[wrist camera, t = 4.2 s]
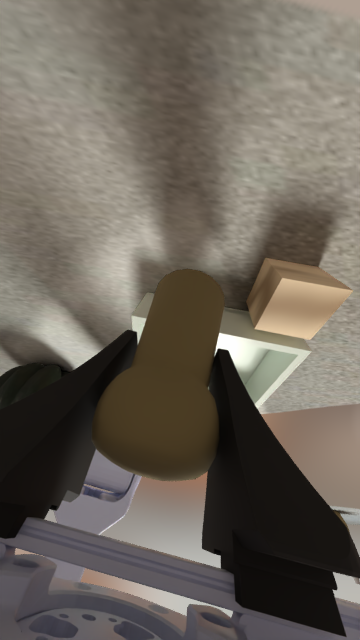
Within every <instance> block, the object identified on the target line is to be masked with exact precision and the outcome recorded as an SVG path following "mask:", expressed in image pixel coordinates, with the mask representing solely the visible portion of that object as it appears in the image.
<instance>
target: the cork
mask: <svg viewBox="0 0 360 640" xmlns="http://www.w3.org/2000/svg"><path fill="white" fill-rule="evenodd" d="M224 306H225V301H224V294H223V291H222V289H221V287H220V285H219V284H218V283H217V282H216V281H215V280H214V279H213V278H212V277H211V276H209V275H207V274H205V273H203V272H201V271H197V270H192V269H183V270H176V271H174V272H172V273H170V274H168V275H166V276H165V277H164V278H163V279H162V280H161V281H160V282H159V284H158V286H157V289H156V291H155V294H154V298H153V301H152V304H151V307H150V310H149V313H148V316H147V319H146V322H145V325H144V328H143V331H142V334H141V337H140V340H139V343H138V346H137V349H136V352H135V355H134V358H133V361H132V365H131V368H129V369H127V370H125V371H123V372H122V373H120V374H119V375H117V376H116V377H115V379H114V380H113V381H112V382H111V383H110V384H109V385H108V386H107V387H106V389H105V391H104V392H103V394H102V396H101V398H100V399H99V401H98V404H97V407H96V410H95V414H94V417H93V421H92V442H93V444H94V446H95V447H96V449H97V451H98V452H99V453H101V454H102V455H103V456H104V457H106V458H107V459H108V460H110V461H111V462H112V463H114V464H115V465H117V466H119V467H120V468H122V469H124V470H126V471H128V472H131V473H133V474H136V475H139V476H143V477H146V478H151V479H155V480H160V481H183V480H193V479H196V478H198V477H200V476H201V475H203V474H204V473H206V472H207V471H208V470H209V468H210V466H211V464H212V462H213V460H214V459H215V457H216V453H217V449H218V444H219V440H220V436H219V417H218V412H217V407H216V403H215V399H214V397H213V396H212V394H211V393H210V391H209V389H208V387H209V382H210V377H211V372H212V367H213V362H214V357H215V352H216V346H217V341H218V336H219V331H220V326H221V321H222V316H223V311H224Z"/></svg>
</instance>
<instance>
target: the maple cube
mask: <svg viewBox="0 0 360 640" xmlns="http://www.w3.org/2000/svg"><path fill="white" fill-rule="evenodd" d="M352 292H353V290H352V289H350V288H349V287H347V286H346V285H344V284H343V283H341V282H340V281H338V280H337V279H335V278H334V277H333V276H331V275H330V274H328V273H327V272H325V271H324V270H322V269H321V268H319V267H316V266H310V265H304V264H298V263H293V262H287V261H281V260H275V259H270V258H265V260H264V262H263V264H262V267H261V269H260V271H259V274H258V276H257V278H256V280H255V283H254V285H253V287H252V289H251V292H250V294H249V296H248V299H247V301H246V303H247V306H248V309H249V313H250V316H251V319H252V322H253V326H254V329H258V330H263V331H268V332H273V333H278V334H283V335H288V336H293V337H298V338H303V339H308V340H310V339H311V338H312V337H313V336H314V335H315V334H316V333H317V332H318V330H319V329H320V328H321V327H322V326H323V325H324V324H325V322H326V321H327V320H328V319H329V318H330V317H331V316H332V315H333V313H334V312H335V311H336V310H337V309H338V308H339V307H340V305H341V304H342V303H343V302H344V301H345V300H346V299H347V298H348V296H349V295H350V294H351V293H352Z"/></svg>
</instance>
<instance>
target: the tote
mask: <svg viewBox="0 0 360 640" xmlns="http://www.w3.org/2000/svg"><path fill="white" fill-rule="evenodd" d="M153 298H154V293H149V292H147V294H146V295H145V296H144V298H143V299H142V301H141V302H140V304H139V305H138V307H137V308H136V310H135V311H134V312H133V314H132V315H131V317H132V329H133V331H136V332H137V339H138V343H139V340H140V337H141V334H142V331H143V328H144V325H145V322H146V319H147V316H148V313H149V310H150V307H151V304H152V301H153ZM218 348H220V349H225V350H228V351H229V353H230V355H231V358H232V360H233V362H234V365H235V367H236V369H237V371H238V373H239V376H240V378H241V380H242V382H243V384H244V386H245V388H246V390H247V391H248V393H249V395H250V397H251V399H252V401H253V402H254V404H255V406H256V408H257V409H258V408H259V407H260V406H261V405H262V404H263V403H264V402H265V400H266V399H267V398H268V397H269V396H270V395H271V394H272V393H273V392H274V391H275V390H276V389H277V388H278V387H279V386H280V385H281V384H282V382H283V381H284V380H285V379H286V378H287V377H288V376H289V375H290V374H291V373H292V372H293V371H294V370H295V369H296V368H297V367H298V366H299V364H300V363H301V362H302V361H303V360H304V359H305V358H306V357H307V356H308V355H309V354H310V353H311V352H312V351H311V349H310V348H309V346H308V345H307V343H306V341H305V340H304V339H303V338H298V337H293V336H288V335H283V334H278V333H273V332H268V331H263V330H258V329H254V326H253V322H252V319H251V316H250V313H249V311H243V310H238V309H233V308H228V307H224V311H223V316H222V321H221V326H220V331H219V336H218V341H217V346H216V352H217V349H218ZM216 352H215V354H216ZM208 389H209V387H208Z"/></svg>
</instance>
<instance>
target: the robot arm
mask: <svg viewBox="0 0 360 640" xmlns="http://www.w3.org/2000/svg"><path fill="white" fill-rule="evenodd" d="M137 346H138V339H137V332H136V331H131V330H127V331H125V332H124V333H123V334H122V335H120V336H119V337H118V338H117V339H116V340H114V341H113V342H112V343H111V344H109V345H108V346H107V347H106V348H104V349H103V350H102V351H100V352H99V353H98V354H96V355H95V356H94V357H92V358H91V359H89V360H88V361H87V362H85V363H84V364H82V365H81V366H79V367H78V368H76V369H75V370H73V371H72V372H70V373H68V374H67V375H65V376H64V377H62V378H60V379H58V380H57V381H55V382H53V383H51V384H50V385H48V386H46V387H44V388H43V389H41V390H39V391H37V392H35V393H33V394H31V395H29V396H27V397H25V398H23V399H21V400H19V401H17V402H15V403H13V404H11V405H9V406H7V407H5V408H3V409H0V640H360V604H358V603H354V602H350V601H347V600H343V599H339V598H335V597H334V593H333V590H337V584H336V581H335V578H334V575H333V572H336V573H340V574H345V575H348V576H352V577H356V578H360V557H359V555H358V552H357V549H356V547H355V544H354V543H353V540H352V538H351V536H350V533H349V531H348V529H347V527H346V525H345V524H344V523H343V522H342V521H341V519H340V518H339V517H338V516H337V515H336V514H335V512H334V511H333V510H332V509H331V508H330V506H329V505H328V504H327V503H326V502H325V501H324V499H323V498H322V497H321V496H320V495H319V493H318V492H317V491H316V490H315V489H314V487H313V486H312V485H311V484H310V482H309V481H308V480H307V478H306V477H305V476H304V475H303V474H302V472H301V471H300V470H299V468H298V467H297V466H296V464H295V463H294V462H293V460H292V459H291V458H290V456H289V455H288V454H287V452H286V451H285V449H284V448H283V447H282V445H281V444H280V443H279V441H278V440H277V439H276V437H275V436H274V434H273V433H272V431H271V430H270V428H269V427H268V425H267V424H266V422H265V421H264V419H263V417H262V416H261V414H260V413H259V411H258V409H257V408H256V406H255V404H254V402H253V401H252V399H251V397H250V395H249V393H248V391H247V390H246V388H245V386H244V384H243V382H242V380H241V378H240V376H239V373H238V371H237V369H236V367H235V365H234V362H233V360H232V358H231V355H230V353H229V351H228V350H225V349H220V348H218V349H217V352H216V354H215V357H214V362H213V367H212V372H211V377H210V382H209V391H210V393H211V394H212V396H213V397H214V399H215V403H216V407H217V412H218V417H219V436H220V440H219V444H218V449H217V453H216V457H215V459H214V460H213V462H212V464H211V466H210V468H209V470H208V475H207V488H206V501H205V511H204V522H203V532H202V549H204V550H207V551H209V552H211V553H213V554H217V555H220V556H221V569H220V568H216V567H213V566H210V565H206V564H202V563H199V562H195V561H192V560H188V559H184V558H180V557H177V556H173V555H170V554H166V553H163V552H159V551H155V550H152V549H148V548H145V547H141V546H137V545H134V544H130V543H127V542H123V541H119V540H116V539H112V538H108V537H105V536H101V535H100V534H101V533H102V532H103V531H105V530H106V529H108V528H109V527H111V526H112V525H113V524H115V523H116V522H118V521H119V520H120V519H122V518H123V517H124V516H125V515H126V513H127V510H128V509H129V508H130V505H131V501H132V498H133V496H134V493H135V490H136V488H137V486H138V484H139V482H140V479H141V476H139V475H136V474H133V473H131V472H128V471H126V470H124V469H122V468H120V467H119V466H117V465H115V464H114V463H112V462H111V461H110V460H108V459H107V458H106V457H104V456H103V455H102V454H101V453H99V452H98V451H97V449H96V447H95V446H94V444H93V442H92V421H93V417H94V414H95V410H96V407H97V404H98V401H99V399H100V398H101V396H102V394H103V392H104V391H105V389H106V387H107V386H108V385H109V384H110V383H111V382H112V381H113V380H114V379H115V377H116V376H117V375H119V374H120V373H122V372H123V371H125V370H127V369H129V368H131V365H132V361H133V358H134V355H135V352H136V349H137ZM83 484H87V485H91V486H94V487H98V488H101V489H105V490H108V491H112V492H114V493H108V492H105V491H101V490H98V489H94V488H91V487H87V486H84V485H83ZM49 509H52V510H53V511H54V514H55V518H56V521H57V523H54V522H51V521H47V520H44V518H45V516H46V515H47V513H48V511H49ZM16 548H19V549H22V550H25V551H29V552H32V553H36V554H39V555H35V554H23V555H22V554H21V555H15V549H16ZM40 555H43V556H45V557H43V556H40ZM85 568H87V569H91V570H94V571H98V572H101V573H104V574H108V575H112V576H115V577H118V578H122V579H125V580H129V581H132V582H136V583H139V584H142V585H146V586H149V587H153V588H156V589H160V590H163V591H167V592H170V593H173V594H177V595H180V596H184V597H187V598H191V599H194V600H197V601H201V602H205V603H208V604H211V605H215V606H218V607H222V608H225V609H228V610H232V611H233V615H232V617H231V618H230V617H229V616H228V615H226V614H225V613H224V612H222V611H221V610H219V609H217V608H214V607H211V606H205V605H194V604H189V606H188V607H187V616H185V615H182V614H180V613H177V612H175V611H173V610H170V609H168V608H165V607H162V606H160V605H157V604H155V603H153V602H150V601H148V600H145V599H142V598H140V597H137V596H134V595H131V594H128V593H124V592H121V591H118V590H114V589H110V588H106V587H102V586H97V585H93V584H87V583H82V582H80V581H81V578H82V575H83V572H84V569H85ZM332 589H333V590H332Z"/></svg>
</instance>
